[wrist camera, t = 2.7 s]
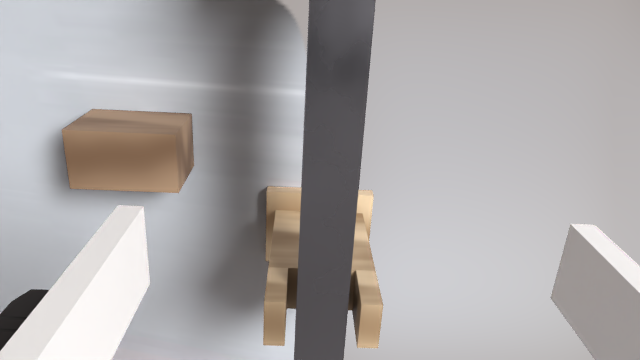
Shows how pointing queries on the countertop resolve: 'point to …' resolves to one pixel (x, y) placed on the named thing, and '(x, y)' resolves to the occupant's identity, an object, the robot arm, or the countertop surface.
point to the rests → (129, 150)
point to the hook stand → (285, 268)
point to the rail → (331, 171)
